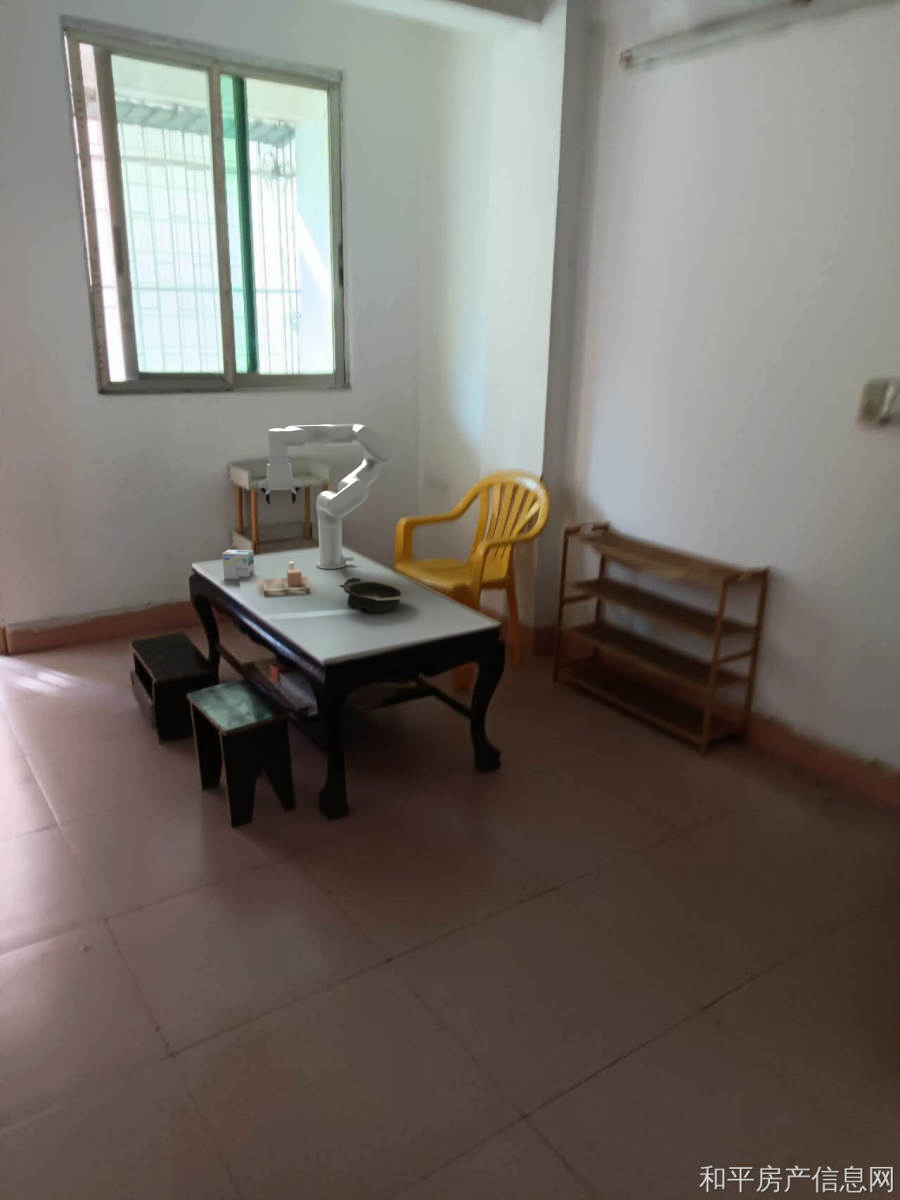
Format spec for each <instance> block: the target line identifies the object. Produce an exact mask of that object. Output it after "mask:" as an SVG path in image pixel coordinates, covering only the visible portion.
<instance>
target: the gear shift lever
mask: <svg viewBox="0 0 900 1200" xmlns="http://www.w3.org/2000/svg"><path fill="white" fill-rule="evenodd" d="M302 577H303V576H302V570H301V569H300V568H295V562H294V561H289V562H288V569H287V570H286V578H287V583H288V585H289V586H293V585H302Z"/></svg>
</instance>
